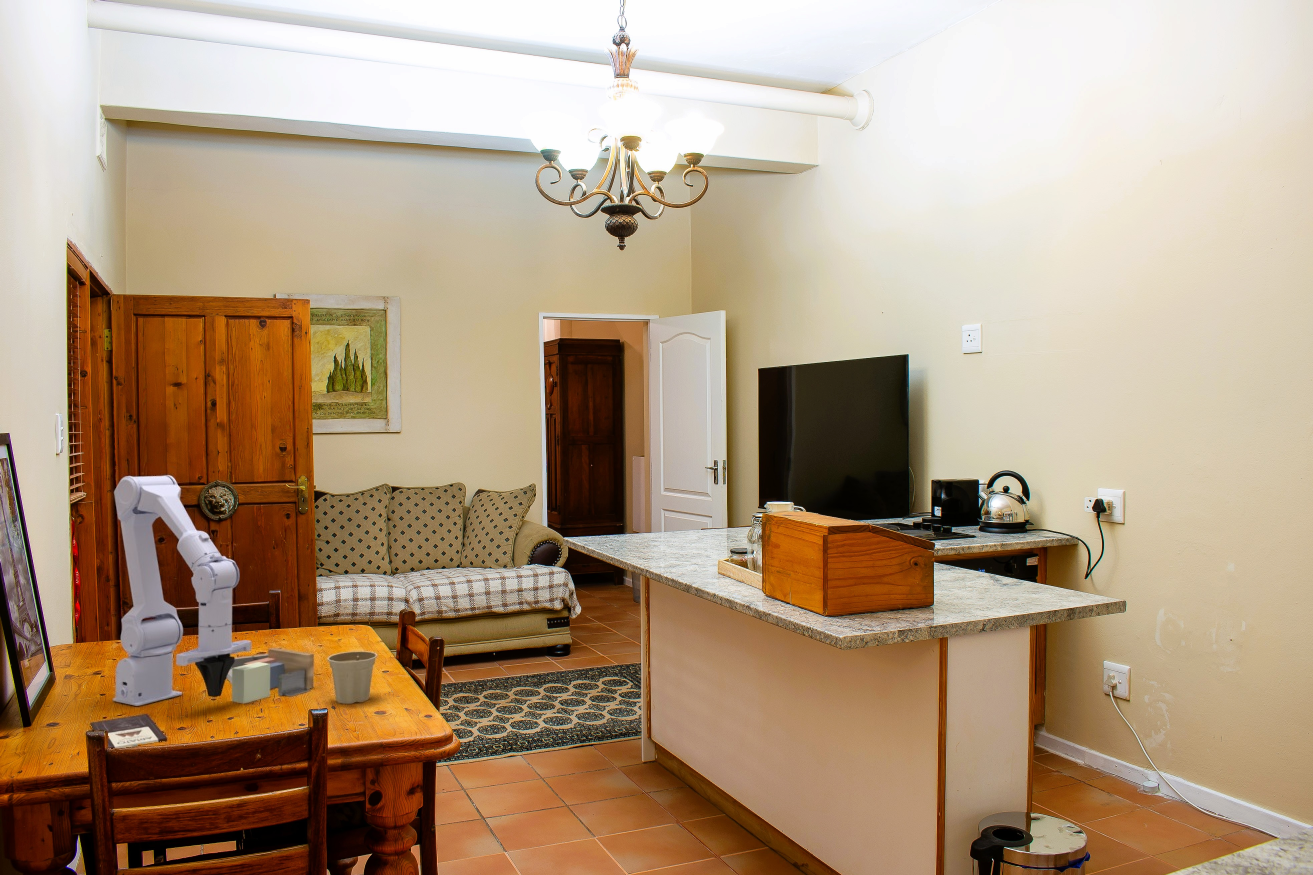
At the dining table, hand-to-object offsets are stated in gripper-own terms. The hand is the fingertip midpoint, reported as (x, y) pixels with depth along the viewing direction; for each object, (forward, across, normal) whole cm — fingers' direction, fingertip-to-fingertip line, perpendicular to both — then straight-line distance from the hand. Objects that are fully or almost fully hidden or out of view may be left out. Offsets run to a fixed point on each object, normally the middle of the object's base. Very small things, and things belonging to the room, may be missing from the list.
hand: (214, 695), depth 173 cm
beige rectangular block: (+2, +8, 0) cm, 8 cm away
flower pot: (+3, +17, -18) cm, 25 cm away
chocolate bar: (+3, -17, 0) cm, 17 cm away
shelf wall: (+2, +19, +2) cm, 19 cm away
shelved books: (+2, +15, +5) cm, 16 cm away
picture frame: (+3, +24, +17) cm, 30 cm away
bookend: (+2, +15, -3) cm, 16 cm away
